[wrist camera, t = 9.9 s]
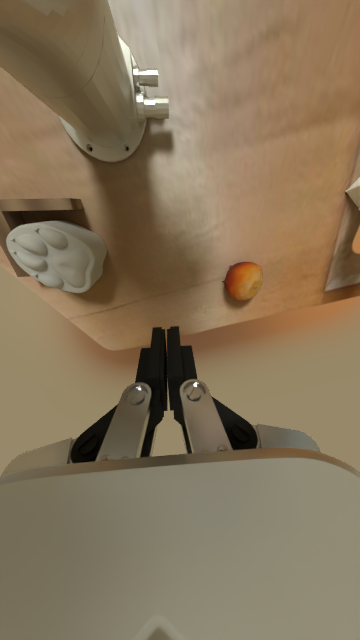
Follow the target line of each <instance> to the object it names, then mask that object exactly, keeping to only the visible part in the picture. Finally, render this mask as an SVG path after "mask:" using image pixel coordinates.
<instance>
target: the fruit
mask: <svg viewBox="0 0 360 640" xmlns="http://www.w3.org/2000/svg"><path fill="white" fill-rule="evenodd" d="M222 282H225V286H226V289H227V291H228V293H229V295H230V296H231V297H232V298H234V299H236V300H240V301H245V300H249V299H251V298H252V297H253V296H255V295H256V294H257V293H258V291H259V290H260V288H261V286H262V282H263V272H262V269H261V267H260V266H259V265H257V264H255V263H252V262H241V263H237V264H235V265H233V266H230V269H229V271H228V272H227V275H226V279H225V281H222Z"/></svg>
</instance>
